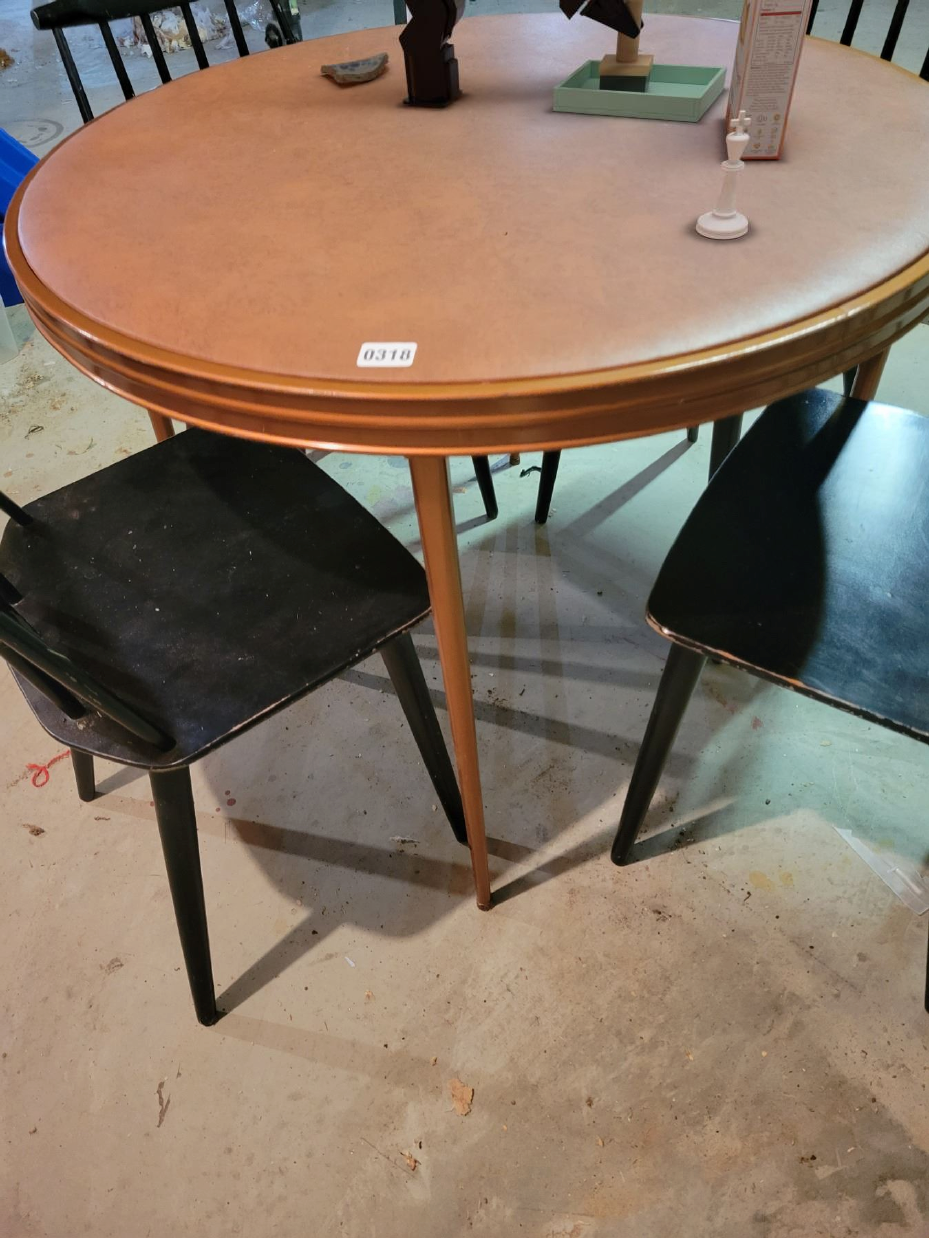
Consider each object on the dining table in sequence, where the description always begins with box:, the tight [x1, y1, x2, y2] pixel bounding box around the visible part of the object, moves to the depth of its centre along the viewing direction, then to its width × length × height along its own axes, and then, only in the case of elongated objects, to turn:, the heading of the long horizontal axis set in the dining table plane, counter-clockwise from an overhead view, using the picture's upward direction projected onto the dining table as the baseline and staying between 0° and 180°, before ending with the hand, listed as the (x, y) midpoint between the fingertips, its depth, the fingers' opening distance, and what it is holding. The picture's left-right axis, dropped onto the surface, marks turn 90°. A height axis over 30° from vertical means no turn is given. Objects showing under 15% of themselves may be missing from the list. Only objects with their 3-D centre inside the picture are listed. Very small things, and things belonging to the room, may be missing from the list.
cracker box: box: [725, 0, 813, 161], centre depth 83 cm, size 14×6×21 cm, turn 169°
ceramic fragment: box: [320, 52, 390, 84], centre depth 118 cm, size 11×3×10 cm
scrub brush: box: [598, 0, 655, 93], centre depth 99 cm, size 6×5×10 cm
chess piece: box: [695, 110, 751, 240], centre depth 72 cm, size 5×5×10 cm
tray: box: [552, 59, 728, 123], centre depth 102 cm, size 19×13×3 cm
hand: (639, 32), depth 98 cm, fingers closed on scrub brush, 3 cm apart
